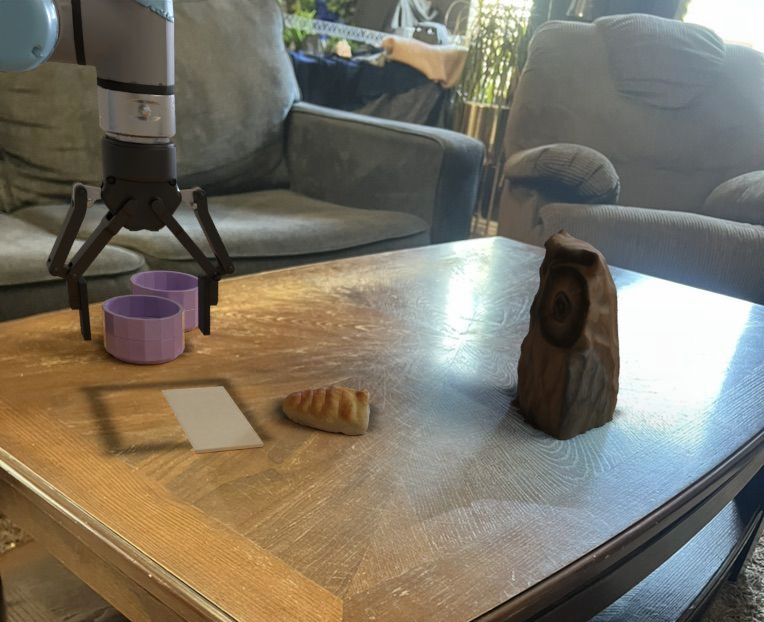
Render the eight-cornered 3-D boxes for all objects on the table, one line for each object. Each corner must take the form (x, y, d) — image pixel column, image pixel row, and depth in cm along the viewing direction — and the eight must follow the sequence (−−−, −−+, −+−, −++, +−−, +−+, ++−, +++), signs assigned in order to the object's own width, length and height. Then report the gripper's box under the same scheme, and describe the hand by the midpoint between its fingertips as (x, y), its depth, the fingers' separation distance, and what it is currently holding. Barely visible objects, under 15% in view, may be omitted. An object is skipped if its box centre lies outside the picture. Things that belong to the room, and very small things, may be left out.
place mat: (114, 461, 70) (114, 457, 70) (90, 397, 80) (90, 394, 80) (263, 446, 76) (263, 443, 76) (222, 389, 86) (223, 386, 86)
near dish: (112, 368, 87) (109, 320, 85) (99, 340, 94) (96, 295, 91) (192, 364, 91) (192, 318, 88) (174, 337, 98) (173, 294, 95)
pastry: (278, 429, 80) (281, 394, 78) (284, 402, 86) (286, 370, 84) (369, 438, 81) (374, 404, 79) (368, 411, 86) (372, 379, 84)
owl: (561, 446, 85) (612, 261, 75) (471, 404, 92) (507, 229, 82) (617, 420, 93) (671, 251, 83) (532, 383, 100) (571, 222, 90)
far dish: (139, 335, 97) (138, 292, 94) (126, 311, 104) (124, 270, 101) (211, 333, 101) (211, 291, 98) (193, 310, 107) (193, 270, 105)
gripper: (9, 134, 72) (35, 351, 83) (265, 149, 83) (258, 340, 94) (3, 122, 78) (28, 327, 89) (244, 138, 89) (240, 319, 100)
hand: (147, 334), depth 92 cm, fingers open, 13 cm apart
